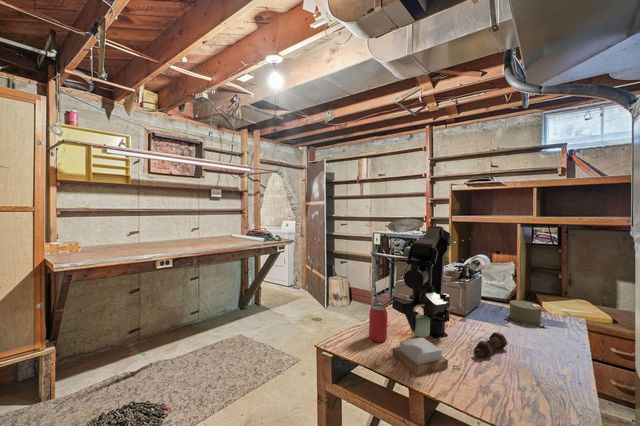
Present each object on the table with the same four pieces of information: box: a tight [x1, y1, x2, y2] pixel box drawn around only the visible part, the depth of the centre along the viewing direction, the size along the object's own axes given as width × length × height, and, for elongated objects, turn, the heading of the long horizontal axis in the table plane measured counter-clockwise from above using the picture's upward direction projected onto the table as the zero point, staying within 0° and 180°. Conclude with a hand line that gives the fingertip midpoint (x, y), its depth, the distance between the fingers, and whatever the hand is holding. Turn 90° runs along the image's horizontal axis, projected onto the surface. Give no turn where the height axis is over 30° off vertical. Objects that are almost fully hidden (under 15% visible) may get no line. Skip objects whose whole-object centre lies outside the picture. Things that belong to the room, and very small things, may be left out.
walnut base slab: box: [391, 346, 449, 376], centre depth 94 cm, size 12×12×3 cm
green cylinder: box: [411, 313, 431, 338], centre depth 94 cm, size 6×6×5 cm
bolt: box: [473, 331, 508, 358], centre depth 101 cm, size 6×5×15 cm
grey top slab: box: [399, 337, 443, 364], centre depth 94 cm, size 9×9×3 cm
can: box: [508, 299, 543, 325], centre depth 131 cm, size 12×12×7 cm
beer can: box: [368, 304, 388, 343], centre depth 109 cm, size 7×7×12 cm
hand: (420, 329), depth 94 cm, fingers closed on green cylinder, 5 cm apart
